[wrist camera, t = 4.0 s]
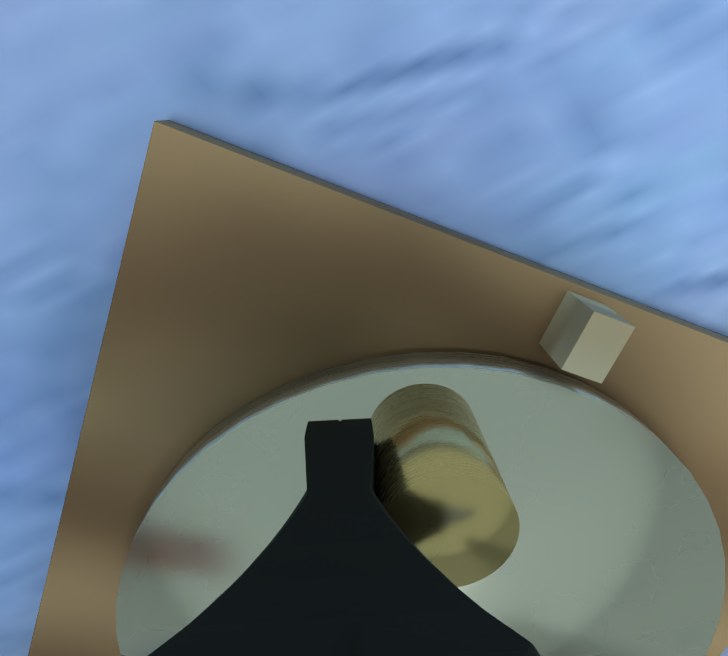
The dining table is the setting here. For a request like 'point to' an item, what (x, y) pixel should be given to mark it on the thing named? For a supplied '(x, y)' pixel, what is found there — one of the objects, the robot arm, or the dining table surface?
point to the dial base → (324, 343)
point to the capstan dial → (455, 504)
